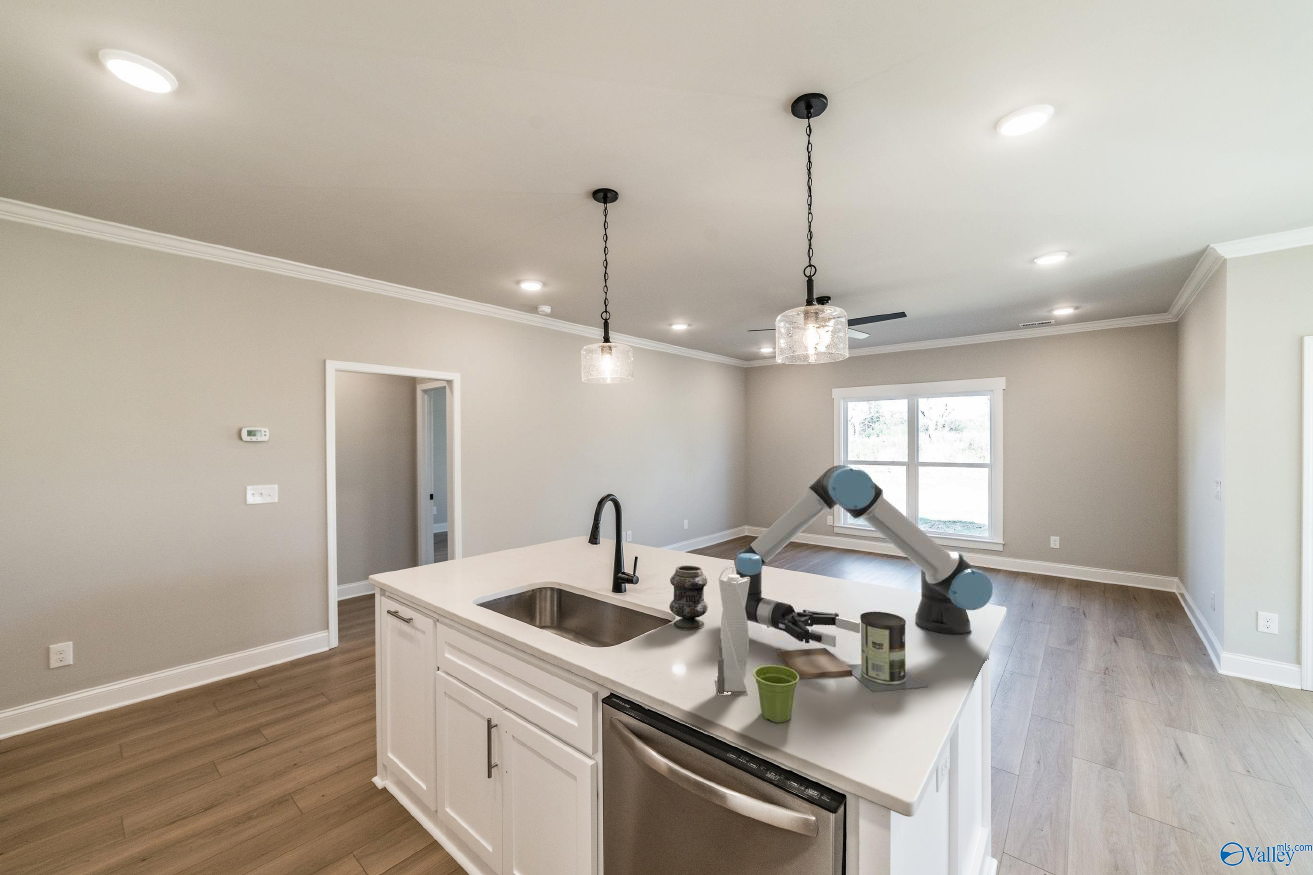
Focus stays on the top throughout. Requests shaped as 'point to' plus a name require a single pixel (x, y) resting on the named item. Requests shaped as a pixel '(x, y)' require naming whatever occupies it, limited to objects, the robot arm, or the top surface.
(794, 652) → the walnut board
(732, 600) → the skyscraper
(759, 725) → the top surface
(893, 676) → the coffee can
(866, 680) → the gray tile
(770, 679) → the plant pot
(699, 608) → the apothecary jar
